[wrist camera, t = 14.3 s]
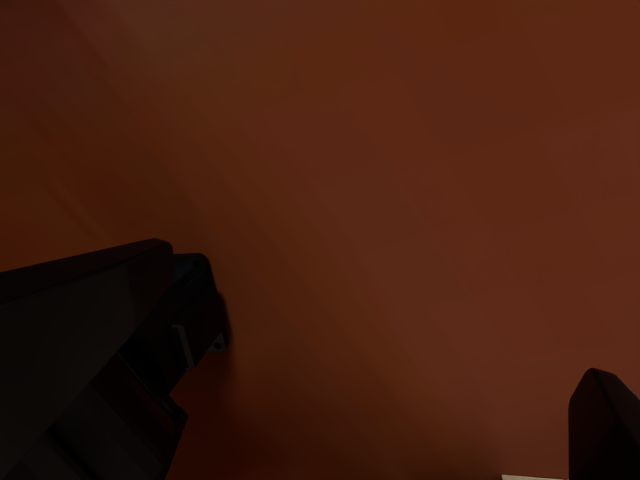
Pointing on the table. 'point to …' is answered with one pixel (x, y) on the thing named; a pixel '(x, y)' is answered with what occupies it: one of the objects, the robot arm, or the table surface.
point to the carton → (523, 478)
